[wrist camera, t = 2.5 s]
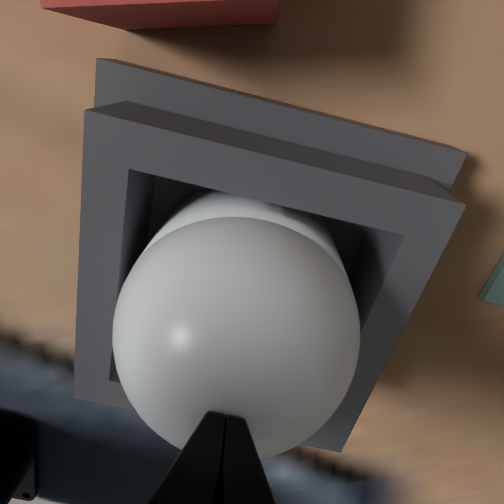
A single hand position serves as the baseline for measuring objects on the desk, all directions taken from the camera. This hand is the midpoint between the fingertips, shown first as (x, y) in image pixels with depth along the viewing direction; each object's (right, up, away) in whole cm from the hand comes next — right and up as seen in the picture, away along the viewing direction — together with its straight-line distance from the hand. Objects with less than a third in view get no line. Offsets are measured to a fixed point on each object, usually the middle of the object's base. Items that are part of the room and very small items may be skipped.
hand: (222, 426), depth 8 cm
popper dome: (0, +3, +6) cm, 7 cm away
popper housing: (0, +4, +8) cm, 9 cm away
